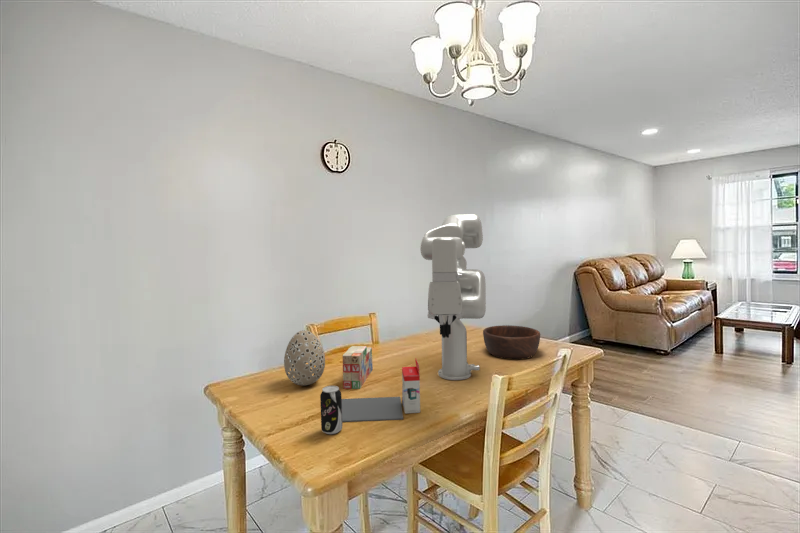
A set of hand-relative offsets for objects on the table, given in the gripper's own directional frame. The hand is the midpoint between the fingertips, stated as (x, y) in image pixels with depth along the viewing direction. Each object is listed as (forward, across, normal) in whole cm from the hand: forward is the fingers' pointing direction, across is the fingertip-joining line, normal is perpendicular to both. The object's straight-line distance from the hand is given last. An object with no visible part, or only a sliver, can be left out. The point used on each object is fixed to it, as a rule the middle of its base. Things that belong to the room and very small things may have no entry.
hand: (445, 336), depth 122 cm
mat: (+22, +24, 0) cm, 33 cm away
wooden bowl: (+22, -39, -54) cm, 70 cm away
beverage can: (+22, +34, +13) cm, 43 cm away
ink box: (+22, +11, 0) cm, 25 cm away
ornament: (+22, +48, -24) cm, 58 cm away
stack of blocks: (+22, +29, -28) cm, 46 cm away
